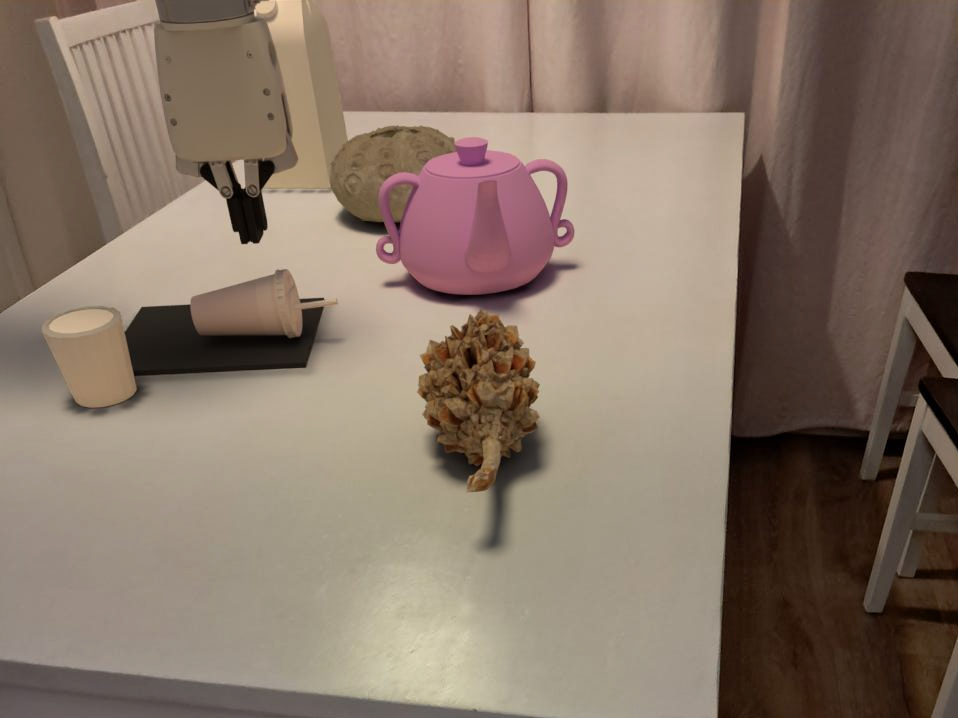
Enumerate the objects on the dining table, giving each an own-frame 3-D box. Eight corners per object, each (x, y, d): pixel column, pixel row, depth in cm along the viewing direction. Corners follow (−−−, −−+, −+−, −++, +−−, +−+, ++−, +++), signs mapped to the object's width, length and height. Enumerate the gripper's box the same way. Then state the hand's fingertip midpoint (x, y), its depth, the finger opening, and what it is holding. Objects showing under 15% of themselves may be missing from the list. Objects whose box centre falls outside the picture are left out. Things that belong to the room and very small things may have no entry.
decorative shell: (324, 204, 126) (311, 122, 119) (448, 186, 130) (442, 105, 123) (351, 244, 113) (339, 155, 107) (488, 223, 117) (484, 136, 110)
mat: (98, 377, 89) (97, 372, 88) (142, 311, 100) (141, 306, 100) (305, 367, 88) (304, 362, 88) (325, 301, 100) (324, 297, 100)
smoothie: (182, 316, 87) (328, 296, 85) (187, 266, 89) (328, 247, 88) (208, 363, 92) (344, 345, 91) (212, 315, 95) (345, 297, 94)
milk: (352, 165, 140) (325, -47, 123) (330, 188, 132) (297, -36, 114) (277, 165, 142) (240, -44, 125) (250, 187, 134) (207, -33, 116)
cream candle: (147, 372, 89) (125, 300, 84) (139, 405, 84) (115, 331, 79) (74, 381, 88) (47, 309, 83) (62, 415, 83) (33, 340, 78)
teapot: (390, 334, 93) (373, 187, 84) (374, 259, 109) (359, 129, 100) (602, 310, 95) (609, 164, 86) (556, 240, 111) (557, 111, 102)
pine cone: (417, 408, 81) (406, 296, 74) (526, 398, 81) (524, 285, 75) (435, 557, 64) (423, 429, 58) (571, 543, 65) (574, 414, 58)
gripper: (303, -10, 76) (336, 221, 89) (125, 0, 77) (182, 230, 89) (290, 3, 71) (327, 249, 83) (98, 15, 71) (163, 257, 83)
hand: (252, 238), depth 86 cm, fingers closed
